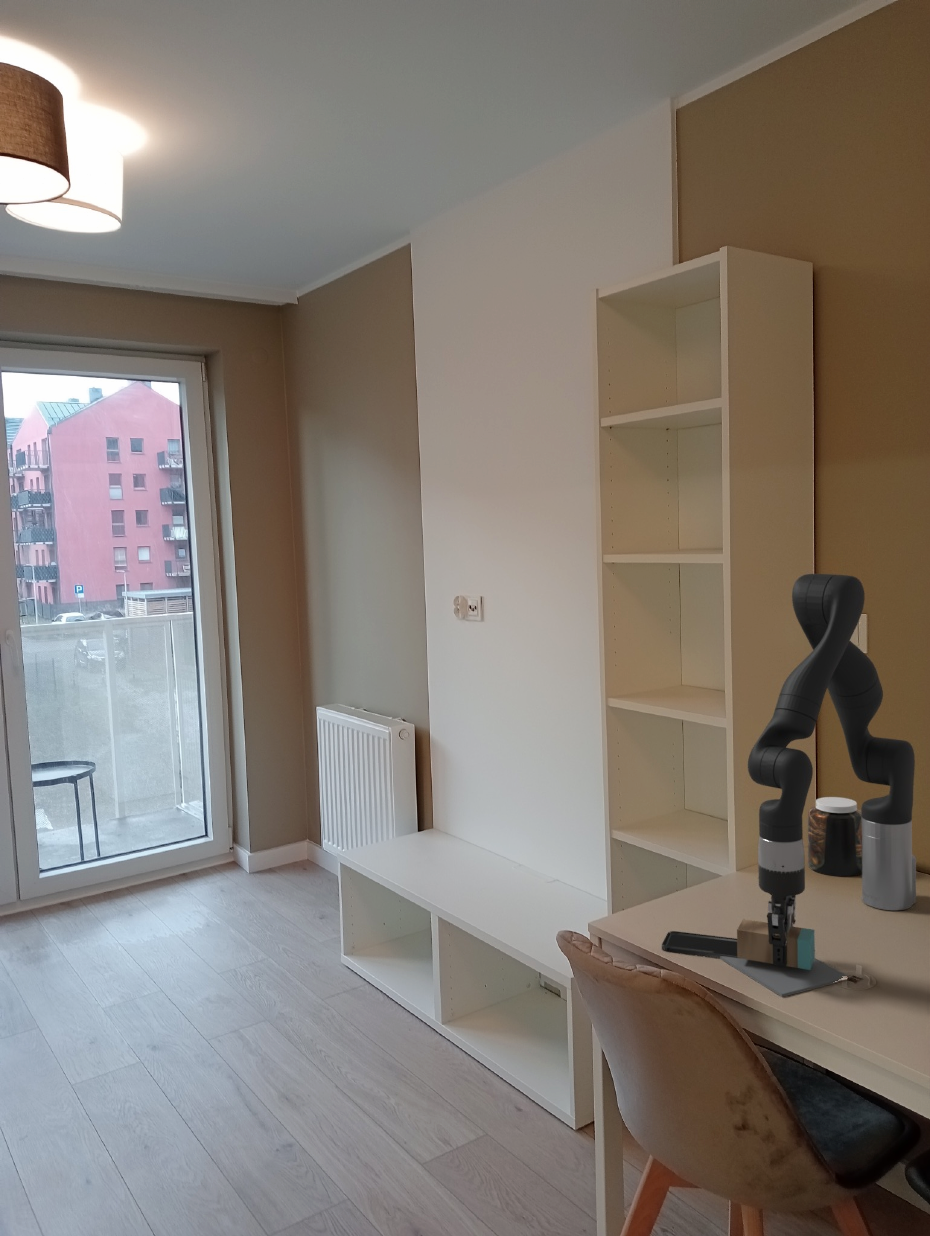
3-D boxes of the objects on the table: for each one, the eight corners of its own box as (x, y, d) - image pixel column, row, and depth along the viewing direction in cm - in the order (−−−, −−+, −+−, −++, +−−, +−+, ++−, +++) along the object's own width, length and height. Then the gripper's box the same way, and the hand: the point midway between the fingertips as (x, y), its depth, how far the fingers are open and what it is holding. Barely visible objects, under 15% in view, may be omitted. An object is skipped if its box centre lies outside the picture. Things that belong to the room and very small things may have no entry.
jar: (829, 879, 206) (828, 811, 204) (798, 862, 217) (797, 797, 216) (877, 873, 208) (876, 805, 207) (844, 856, 220) (843, 792, 218)
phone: (669, 930, 181) (751, 940, 175) (669, 936, 181) (751, 946, 175) (660, 947, 174) (745, 957, 168) (660, 953, 174) (745, 964, 168)
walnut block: (743, 919, 170) (814, 929, 164) (743, 946, 170) (814, 957, 165) (736, 929, 165) (810, 941, 160) (737, 957, 166) (810, 970, 160)
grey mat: (783, 943, 175) (783, 941, 175) (849, 979, 160) (849, 976, 160) (720, 958, 170) (720, 956, 170) (782, 997, 155) (781, 994, 155)
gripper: (797, 878, 155) (799, 980, 157) (810, 852, 168) (812, 946, 169) (750, 873, 159) (752, 972, 160) (766, 847, 171) (768, 939, 173)
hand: (782, 958), depth 165 cm, fingers closed on walnut block, 5 cm apart
